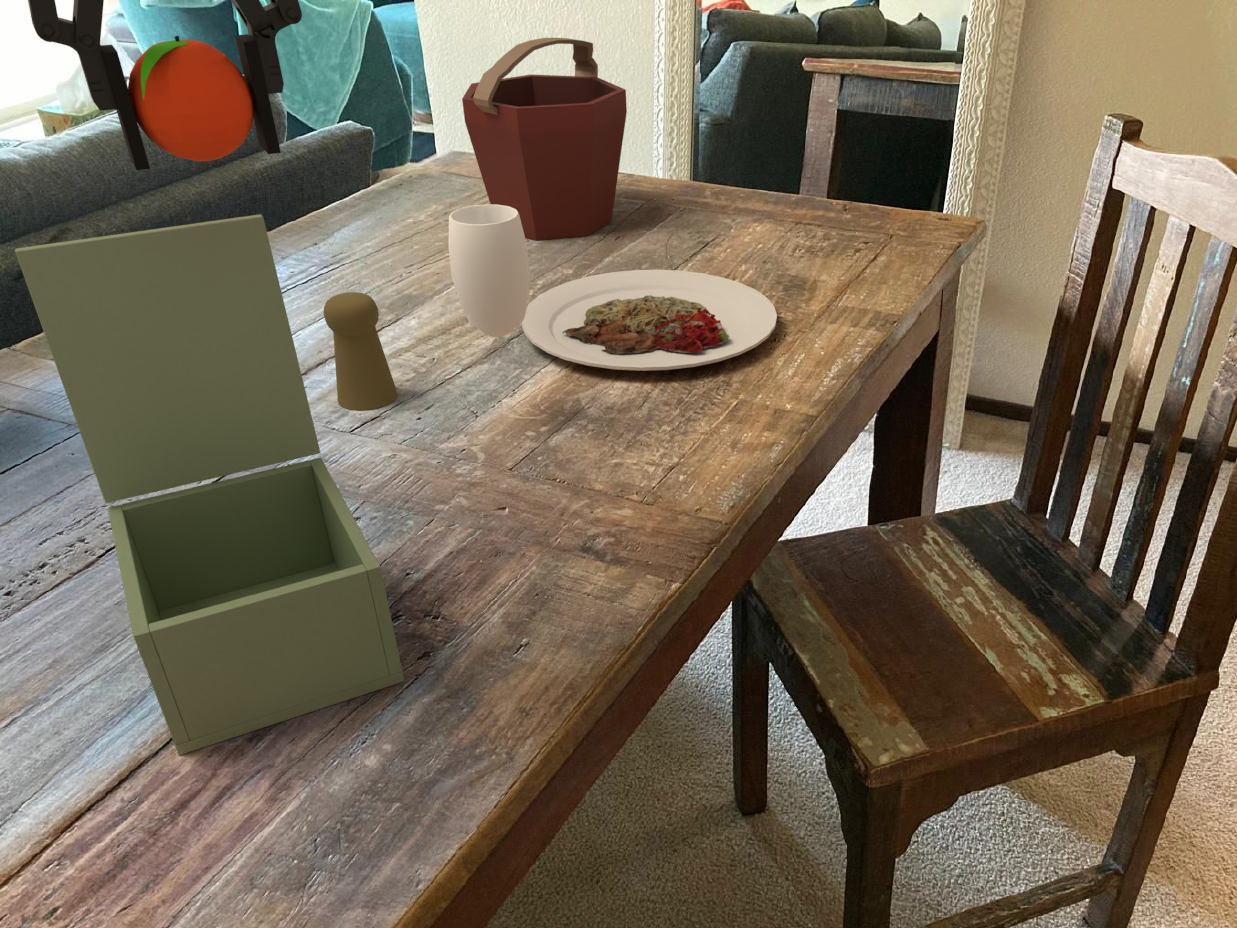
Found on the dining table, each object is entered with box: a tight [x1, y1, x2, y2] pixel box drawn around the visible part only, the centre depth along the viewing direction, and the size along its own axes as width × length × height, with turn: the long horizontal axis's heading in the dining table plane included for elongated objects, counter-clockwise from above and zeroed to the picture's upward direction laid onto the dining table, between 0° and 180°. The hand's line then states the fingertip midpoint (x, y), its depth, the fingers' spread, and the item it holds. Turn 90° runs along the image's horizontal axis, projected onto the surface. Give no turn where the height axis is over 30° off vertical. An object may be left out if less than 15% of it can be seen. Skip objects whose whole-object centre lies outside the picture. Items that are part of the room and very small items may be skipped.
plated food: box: [520, 269, 778, 372], centre depth 129 cm, size 30×30×3 cm
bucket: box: [461, 37, 628, 241], centre depth 156 cm, size 24×22×25 cm
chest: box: [107, 457, 405, 756], centre depth 77 cm, size 17×15×10 cm
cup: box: [447, 203, 531, 338], centre depth 105 cm, size 7×7×21 cm
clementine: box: [127, 35, 254, 162], centre depth 66 cm, size 8×7×7 cm
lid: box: [14, 214, 321, 504], centre depth 76 cm, size 18×15×1 cm
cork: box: [323, 291, 399, 411], centre depth 111 cm, size 6×6×11 cm
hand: (206, 155), depth 68 cm, fingers closed on clementine, 7 cm apart
